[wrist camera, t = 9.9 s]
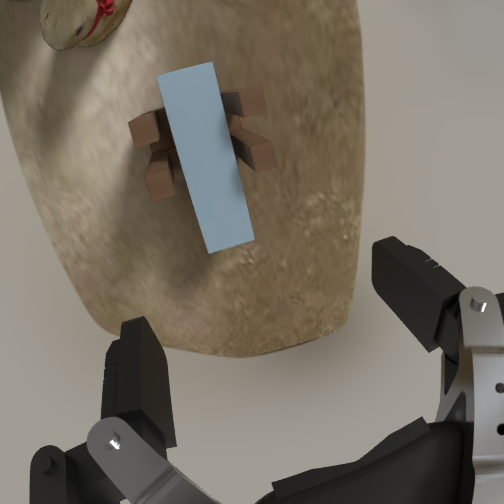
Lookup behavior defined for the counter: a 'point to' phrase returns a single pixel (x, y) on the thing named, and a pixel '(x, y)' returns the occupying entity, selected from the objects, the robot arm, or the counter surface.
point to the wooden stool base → (164, 149)
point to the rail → (206, 155)
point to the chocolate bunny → (79, 21)
